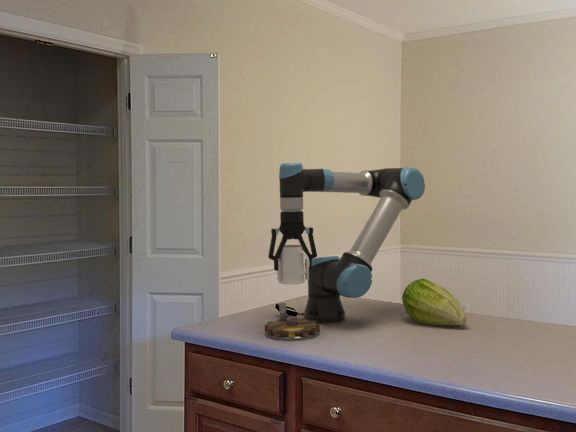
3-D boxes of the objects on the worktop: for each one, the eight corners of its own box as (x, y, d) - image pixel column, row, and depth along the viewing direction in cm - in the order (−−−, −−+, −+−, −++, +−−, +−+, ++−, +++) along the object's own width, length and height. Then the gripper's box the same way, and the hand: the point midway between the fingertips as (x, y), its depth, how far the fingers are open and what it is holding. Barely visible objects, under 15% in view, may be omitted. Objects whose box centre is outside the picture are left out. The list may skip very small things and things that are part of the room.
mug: (317, 283, 191) (316, 246, 190) (298, 286, 185) (297, 248, 184) (292, 279, 199) (291, 244, 199) (273, 282, 193) (272, 246, 193)
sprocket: (330, 332, 193) (329, 308, 193) (280, 340, 184) (280, 315, 184) (302, 320, 209) (301, 299, 209) (255, 328, 200) (255, 305, 200)
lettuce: (473, 335, 204) (444, 347, 194) (419, 303, 222) (390, 313, 213) (482, 297, 198) (453, 308, 189) (426, 267, 217) (396, 276, 207)
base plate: (313, 324, 208) (313, 322, 207) (325, 338, 189) (325, 336, 189) (261, 328, 204) (261, 325, 204) (268, 342, 186) (268, 339, 186)
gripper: (321, 209, 196) (322, 276, 197) (257, 211, 192) (259, 279, 194) (326, 210, 189) (327, 280, 190) (260, 212, 185) (262, 283, 186)
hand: (293, 279), depth 192 cm, fingers closed on mug, 8 cm apart
